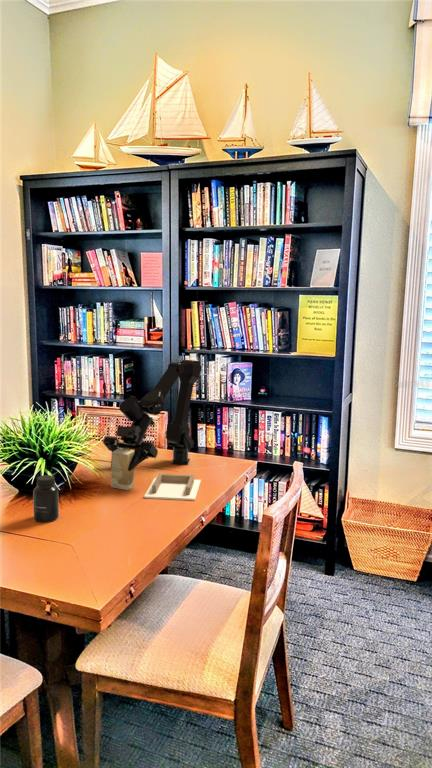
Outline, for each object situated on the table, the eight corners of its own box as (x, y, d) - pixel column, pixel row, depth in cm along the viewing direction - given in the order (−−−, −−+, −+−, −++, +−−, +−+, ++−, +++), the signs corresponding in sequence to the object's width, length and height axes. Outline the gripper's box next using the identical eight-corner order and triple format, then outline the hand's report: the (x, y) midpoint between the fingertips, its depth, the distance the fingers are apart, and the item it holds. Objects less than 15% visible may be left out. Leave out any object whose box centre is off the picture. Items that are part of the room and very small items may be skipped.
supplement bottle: (36, 524, 152) (34, 483, 150) (31, 516, 158) (30, 475, 156) (61, 520, 155) (60, 479, 153) (56, 512, 161) (55, 472, 159)
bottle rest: (154, 479, 192) (154, 470, 191) (200, 481, 190) (201, 472, 190) (144, 498, 174) (144, 488, 173) (194, 500, 173) (195, 490, 172)
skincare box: (110, 487, 182) (110, 451, 181) (117, 483, 186) (117, 448, 185) (127, 490, 180) (127, 454, 178) (134, 486, 184) (134, 450, 182)
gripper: (105, 412, 187) (85, 452, 179) (153, 418, 179) (135, 460, 171) (119, 430, 195) (100, 469, 187) (165, 437, 188) (148, 477, 180)
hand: (120, 469), depth 181 cm, fingers closed on skincare box, 6 cm apart
